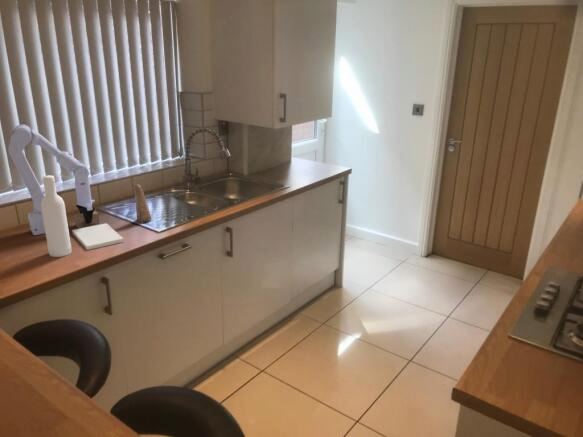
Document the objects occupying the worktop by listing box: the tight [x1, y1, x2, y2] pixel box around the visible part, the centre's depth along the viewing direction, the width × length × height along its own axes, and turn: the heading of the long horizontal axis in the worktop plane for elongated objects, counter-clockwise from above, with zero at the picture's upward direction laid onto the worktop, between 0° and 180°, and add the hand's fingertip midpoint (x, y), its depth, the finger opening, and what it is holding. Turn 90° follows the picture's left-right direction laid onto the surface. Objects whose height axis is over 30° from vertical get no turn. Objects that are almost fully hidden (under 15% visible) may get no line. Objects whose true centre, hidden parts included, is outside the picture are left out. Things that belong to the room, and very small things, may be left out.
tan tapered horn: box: [133, 183, 152, 223], centre depth 210 cm, size 6×18×6 cm
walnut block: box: [73, 210, 101, 229], centre depth 206 cm, size 9×4×5 cm, turn 128°
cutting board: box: [71, 223, 125, 251], centre depth 193 cm, size 14×21×2 cm, turn 38°
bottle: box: [41, 175, 73, 258], centre depth 174 cm, size 8×8×30 cm
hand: (87, 221), depth 207 cm, fingers closed on walnut block, 4 cm apart
